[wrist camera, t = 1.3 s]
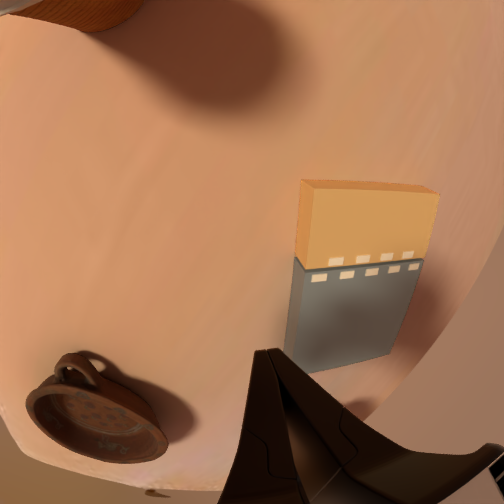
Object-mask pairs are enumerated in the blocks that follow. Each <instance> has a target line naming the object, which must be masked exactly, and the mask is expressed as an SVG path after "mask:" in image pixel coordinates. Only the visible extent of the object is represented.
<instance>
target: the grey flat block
mask: <svg viewBox="0 0 504 504" xmlns="http://www.w3.org/2000/svg"><path fill="white" fill-rule="evenodd" d="M423 261H424V260H423V259H421V258H416V259H407V260H398V261H388V262H379V263H369V264H359V265H349V266H338V267H328V268H317V269H306V270H305V268H304V267H303V265H302V264H301V262H300V261H299V259H298V258H297V257H295V258H294V268H293V277H292V286H291V295H290V304H289V312H288V320H287V328H286V336H285V344H284V351H283V352H284V353H285V354H286V355H287V356H288V357H289V358H290V359H291V360H292V361H293V362H294V363H296V364H297V365H298V366H299V367H300V368H301V369H302V370H303V371H304V372H305V373H306V374H309V373H314V372H319V371H324V370H328V369H333V368H337V367H342V366H346V365H350V364H354V363H358V362H362V361H366V360H370V359H373V358H377V357H381V356H384V355H388V354H389V353H390V351H391V349H392V346H393V344H394V342H395V339H396V337H397V335H398V332H399V330H400V327H401V325H402V322H403V320H404V317H405V315H406V312H407V309H408V307H409V304H410V301H411V298H412V296H413V293H414V290H415V287H416V284H417V281H418V278H419V275H420V271H421V268H422V265H423Z"/></svg>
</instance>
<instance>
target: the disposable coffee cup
mask: <svg viewBox="0 0 504 504" xmlns="http://www.w3.org/2000/svg"><path fill="white" fill-rule="evenodd" d="M143 2H144V0H0V16H3V15H6V14H11V15H17V16H23V17H29V18H33V19H38V20H43V21H47V22H51V23H55V24H59V25H63V26H67V27H71V28H74V29H77V30H80V31H83V32H99V31H103V30H107V29H109V28H112V27H114V26H116V25H118V24H120V23H122V22H123V21H125V20H126V19H128V18H129V17H131V16H132V15H133V14H134V13H135V12H136V11H137V10H138V9H139V8H140V6H141V5H142V4H143Z"/></svg>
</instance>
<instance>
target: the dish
mask: <svg viewBox="0 0 504 504" xmlns="http://www.w3.org/2000/svg"><path fill="white" fill-rule="evenodd" d="M67 367H72V368H75V369H77V370H78V371H80V372H76V371H70V370H68V369H67ZM54 372H55V374H54V375H52V376H50V377H48V378H47V379H46V380H45V381H44V382H43V383H42V384H41V385H40V386H39V387H38V388H37V389H35V390H33V391H32V392H31V393H30V394H29V395H28V396H27V399H26V403H25V404H26V409H27V412H28V414H29V416H30V418H31V419H32V421H33V422H34V423H35V424H36V425H37V427H38V428H39V429H40V430H41V431H43V432H44V433H45V434H46V435H47V436H48V437H50V438H51V439H52V440H54V441H55V442H57V443H58V444H60V445H61V446H63V447H65V448H67V449H69V450H71V451H73V452H76V453H78V454H81V455H84V456H87V457H90V458H93V459H97V460H101V461H104V462H110V463H118V464H134V463H142V462H148V461H152V460H155V459H157V458H159V457H160V456H162V455H163V454H164V453H165V452H166V450H167V448H168V440H167V438H166V436H165V435H164V433H163V432H162V431H161V429H160V426H159V423H158V421H157V419H156V416H155V414H154V413H153V411H152V409H151V408H150V406H149V405H148V404H147V403H146V402H145V401H144V400H143V399H142V398H140V397H139V396H137V395H136V394H134V393H133V392H131V391H130V390H128V389H126V388H125V387H123V386H121V385H118V384H116V383H114V382H112V381H110V380H107V379H105V378H102V377H101V376H100V375H99V373H98V371H97V370H96V368H95V367H94V366H93V365H92V363H91V362H90V361H88V360H87V359H86V358H84V357H83V356H81V355H78V354H75V353H68V354H66V355H63V356H62V358H61V359H60V360H59V362H58V363H57V364H56V366H55V371H54Z"/></svg>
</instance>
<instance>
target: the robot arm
mask: <svg viewBox="0 0 504 504" xmlns="http://www.w3.org/2000/svg"><path fill="white" fill-rule="evenodd" d="M503 452H504V447H503V446H501V445H499V444H494V443H486V444H485V445H483V446H482V447H481V448H480V449H478V450H477V451H475V452H473V453H471V454H466V455H450V454H449V455H448V454H435V453H424V452H415V451H411V450H408V449H406V448H403V447H402V446H400V445H398V444H396V443H394V442H393V441H391V440H390V439H388V438H387V437H385V436H383V435H382V434H380V433H379V432H377V431H375V430H374V429H372V428H371V427H369V426H368V425H366V424H365V423H364V422H362V421H361V420H360V419H358V418H357V417H356V416H355V415H353V414H352V413H351V412H350V411H349V410H347V409H346V408H345V407H344V408H343V405H342V404H340V403H339V402H338V401H337V400H336V399H335V398H333V397H332V396H331V395H330V394H329V393H328V392H327V391H325V390H324V389H323V388H322V387H321V386H320V385H319V384H318V383H316V382H315V381H314V380H313V379H312V378H311V377H310V376H309V375H308V374H306V373H305V372H304V371H303V370H302V369H301V368H300V367H299V366H298V365H297V364H296V363H294V362H293V361H292V360H291V359H290V358H289V357H288V356H287V355H286V354H285V353H284V352H283V351H282V350H280V349H279V348H271V349H267V350H265V349H264V350H256V351H255V352H254V358H253V364H252V370H251V376H250V382H249V388H248V394H247V400H246V406H245V412H244V418H243V424H242V429H241V435H240V440H239V445H238V449H237V453H236V456H235V459H234V462H233V465H232V468H231V470H230V473H229V476H228V478H227V481H226V484H225V486H224V489H223V491H222V494H221V496H220V499H219V501H218V503H217V504H504V454H503V455H502V456H501V457H500V458H499V459H498V460H496V459H497V458H498V457H499V456H500V455H501V454H502V453H503ZM494 460H496V461H495V462H494V463H493V464H492V465H491V466H489V465H490V464H491V463H492V462H493V461H494ZM488 466H489V467H488Z"/></svg>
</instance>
